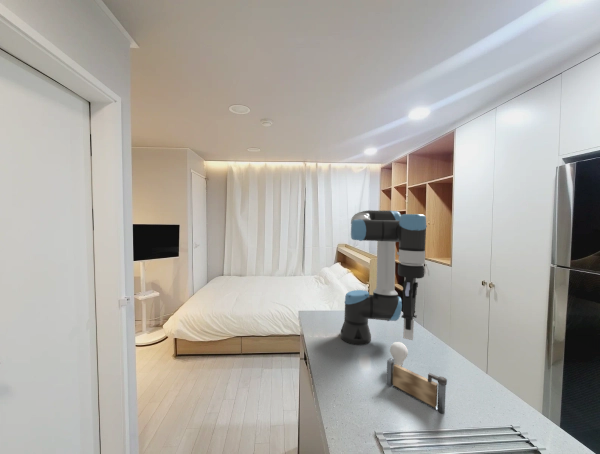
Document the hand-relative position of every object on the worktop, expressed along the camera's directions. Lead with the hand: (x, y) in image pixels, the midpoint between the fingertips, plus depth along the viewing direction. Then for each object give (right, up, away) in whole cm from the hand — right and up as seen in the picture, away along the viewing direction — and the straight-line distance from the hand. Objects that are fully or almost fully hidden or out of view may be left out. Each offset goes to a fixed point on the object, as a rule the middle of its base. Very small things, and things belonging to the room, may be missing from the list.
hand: (408, 338), depth 78 cm
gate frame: (+5, -22, +6) cm, 24 cm away
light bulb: (+5, -22, +21) cm, 31 cm away
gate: (+5, -22, +5) cm, 23 cm away
